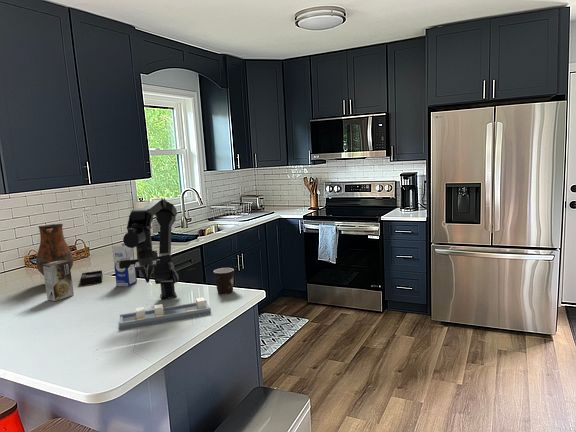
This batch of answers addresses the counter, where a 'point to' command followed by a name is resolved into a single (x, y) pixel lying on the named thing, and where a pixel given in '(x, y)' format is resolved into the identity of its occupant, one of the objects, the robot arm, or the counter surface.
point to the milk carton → (126, 274)
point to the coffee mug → (224, 280)
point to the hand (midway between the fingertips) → (147, 282)
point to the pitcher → (52, 246)
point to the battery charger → (91, 278)
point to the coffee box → (58, 280)
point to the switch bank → (169, 315)
